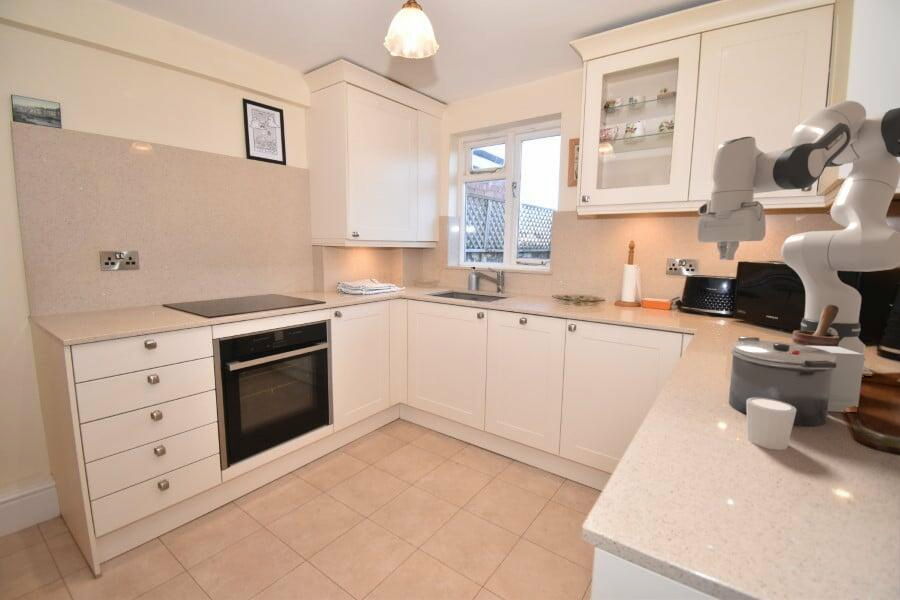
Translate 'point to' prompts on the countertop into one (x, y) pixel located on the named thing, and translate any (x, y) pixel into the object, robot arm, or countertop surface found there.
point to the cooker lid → (784, 352)
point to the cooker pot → (781, 387)
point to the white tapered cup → (769, 422)
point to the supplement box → (844, 378)
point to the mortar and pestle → (819, 331)
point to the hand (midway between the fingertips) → (726, 260)
